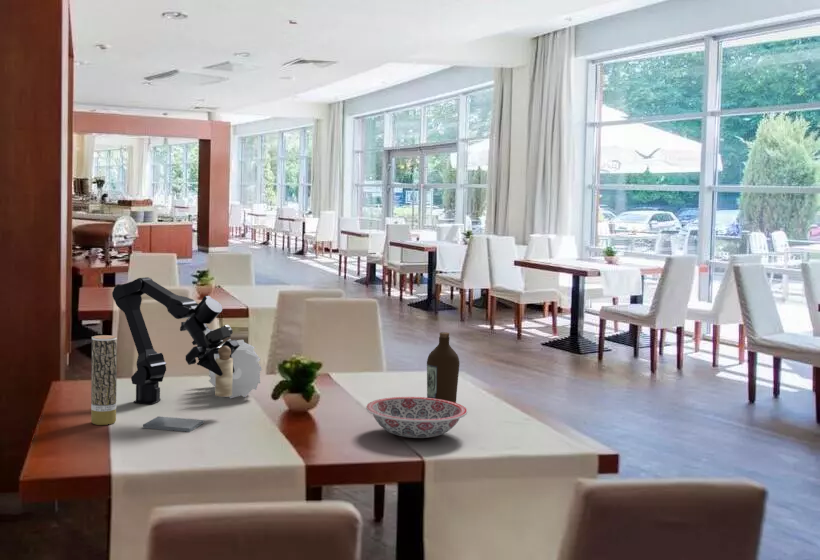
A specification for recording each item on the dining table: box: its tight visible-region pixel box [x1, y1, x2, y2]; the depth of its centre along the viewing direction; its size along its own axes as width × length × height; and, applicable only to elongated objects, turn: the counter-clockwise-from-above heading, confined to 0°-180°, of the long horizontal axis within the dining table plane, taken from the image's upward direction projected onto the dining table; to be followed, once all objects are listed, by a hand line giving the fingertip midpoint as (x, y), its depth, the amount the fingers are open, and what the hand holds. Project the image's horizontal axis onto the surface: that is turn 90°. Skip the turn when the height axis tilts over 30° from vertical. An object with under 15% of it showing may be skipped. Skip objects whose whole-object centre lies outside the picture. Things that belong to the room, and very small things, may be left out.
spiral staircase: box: [208, 338, 263, 399], centre depth 302 cm, size 18×18×25 cm
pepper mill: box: [214, 345, 233, 398], centre depth 268 cm, size 5×5×15 cm
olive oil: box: [426, 331, 460, 403], centre depth 290 cm, size 11×11×25 cm
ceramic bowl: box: [365, 396, 468, 439], centre depth 257 cm, size 29×29×8 cm
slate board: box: [142, 415, 204, 433], centre depth 257 cm, size 14×10×1 cm
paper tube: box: [90, 334, 118, 426], centre depth 256 cm, size 7×7×25 cm
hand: (227, 373), depth 267 cm, fingers closed on pepper mill, 5 cm apart
